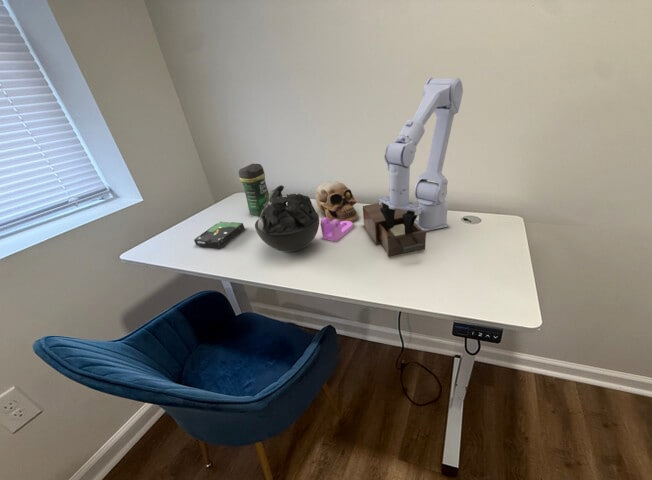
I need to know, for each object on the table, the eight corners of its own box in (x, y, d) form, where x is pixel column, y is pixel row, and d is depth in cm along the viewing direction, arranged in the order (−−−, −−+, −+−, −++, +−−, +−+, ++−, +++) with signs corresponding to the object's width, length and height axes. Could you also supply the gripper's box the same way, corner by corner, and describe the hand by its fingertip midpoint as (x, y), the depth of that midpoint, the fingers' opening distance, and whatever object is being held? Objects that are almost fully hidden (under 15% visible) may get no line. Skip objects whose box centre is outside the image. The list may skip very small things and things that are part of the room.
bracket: (336, 241, 109) (333, 222, 104) (322, 238, 111) (319, 219, 107) (355, 225, 117) (354, 207, 113) (343, 223, 120) (340, 205, 115)
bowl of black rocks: (312, 265, 97) (300, 206, 86) (252, 262, 101) (233, 205, 89) (330, 234, 113) (322, 181, 101) (278, 232, 116) (264, 180, 105)
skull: (355, 223, 119) (348, 187, 111) (312, 225, 123) (302, 191, 115) (364, 207, 131) (358, 174, 123) (325, 210, 135) (317, 178, 128)
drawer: (432, 257, 96) (433, 238, 92) (394, 265, 94) (393, 247, 90) (408, 231, 110) (408, 214, 106) (375, 238, 107) (374, 221, 104)
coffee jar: (263, 217, 127) (250, 169, 116) (247, 215, 130) (232, 168, 118) (277, 207, 135) (265, 162, 123) (261, 206, 137) (248, 161, 125)
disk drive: (221, 249, 109) (245, 229, 120) (218, 242, 107) (243, 222, 118) (196, 246, 111) (221, 227, 122) (192, 239, 109) (219, 220, 120)
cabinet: (413, 236, 109) (414, 215, 104) (376, 244, 106) (374, 222, 101) (398, 220, 120) (398, 199, 115) (364, 226, 117) (362, 205, 112)
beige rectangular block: (402, 234, 106) (402, 223, 104) (411, 245, 100) (411, 233, 98) (388, 237, 105) (387, 226, 103) (396, 248, 99) (396, 236, 97)
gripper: (371, 187, 93) (373, 229, 102) (411, 197, 86) (410, 242, 94) (386, 180, 98) (387, 221, 106) (426, 189, 90) (424, 233, 98)
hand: (399, 230), depth 100 cm, fingers closed on beige rectangular block, 6 cm apart
